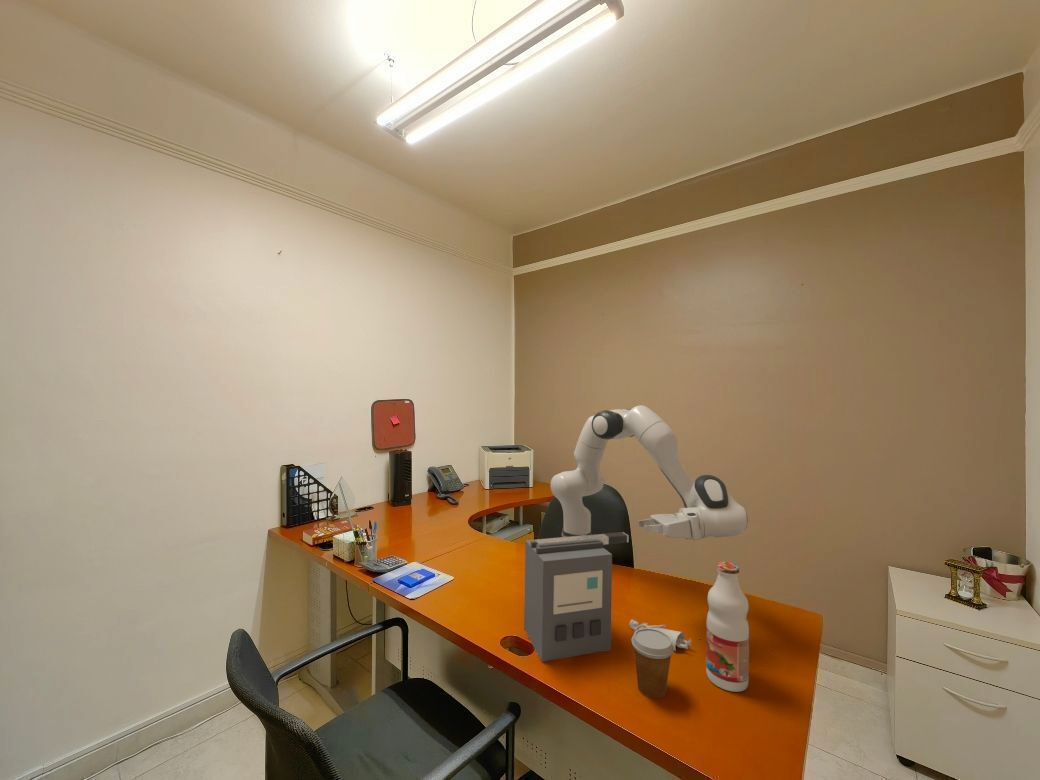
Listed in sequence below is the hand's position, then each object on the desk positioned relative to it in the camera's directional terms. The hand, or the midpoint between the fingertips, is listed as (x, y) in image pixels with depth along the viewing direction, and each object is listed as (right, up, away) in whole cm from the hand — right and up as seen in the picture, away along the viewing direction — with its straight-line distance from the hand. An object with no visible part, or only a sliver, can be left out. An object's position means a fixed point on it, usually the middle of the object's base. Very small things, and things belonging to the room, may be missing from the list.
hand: (641, 526), depth 122 cm
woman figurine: (+4, -31, -4) cm, 32 cm away
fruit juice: (+15, -31, -21) cm, 40 cm away
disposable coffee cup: (-5, -31, -25) cm, 40 cm away
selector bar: (-18, -4, -3) cm, 19 cm away
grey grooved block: (-23, -30, -5) cm, 38 cm away
